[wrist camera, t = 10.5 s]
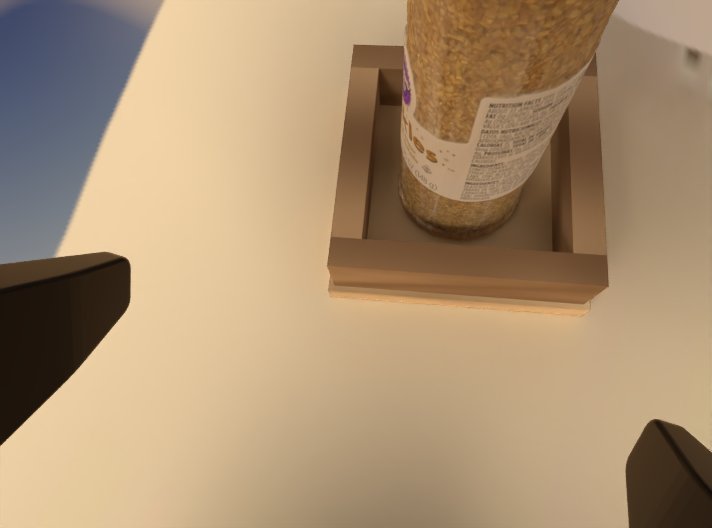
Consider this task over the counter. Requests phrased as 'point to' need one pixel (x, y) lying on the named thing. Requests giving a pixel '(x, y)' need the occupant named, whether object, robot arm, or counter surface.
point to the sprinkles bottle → (486, 102)
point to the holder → (466, 257)
